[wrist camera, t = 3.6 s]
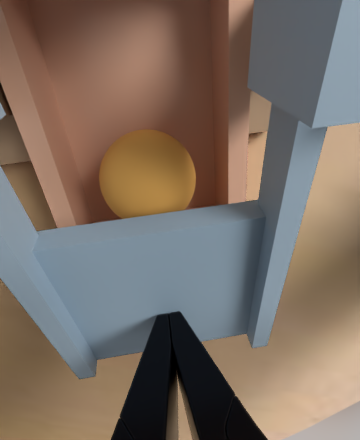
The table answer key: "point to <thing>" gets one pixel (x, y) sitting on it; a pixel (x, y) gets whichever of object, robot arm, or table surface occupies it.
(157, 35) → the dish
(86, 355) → the lever
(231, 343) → the table surface
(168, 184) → the ball
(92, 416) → the table surface
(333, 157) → the table surface
